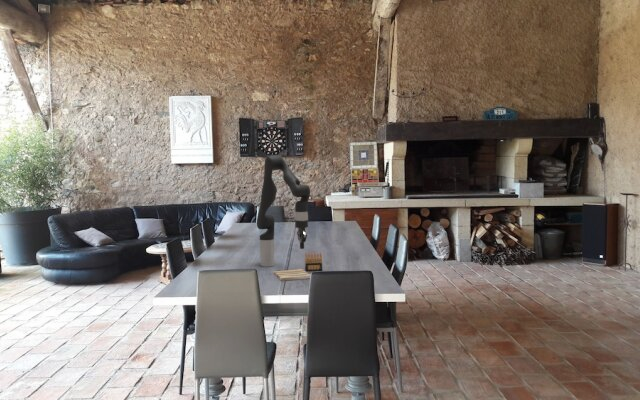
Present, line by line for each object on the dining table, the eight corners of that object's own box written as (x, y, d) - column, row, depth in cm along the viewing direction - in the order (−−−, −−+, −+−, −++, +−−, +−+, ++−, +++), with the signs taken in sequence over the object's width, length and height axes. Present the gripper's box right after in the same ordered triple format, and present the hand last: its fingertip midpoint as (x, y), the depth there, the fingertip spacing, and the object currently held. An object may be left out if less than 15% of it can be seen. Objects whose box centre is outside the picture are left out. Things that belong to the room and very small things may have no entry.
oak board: (273, 273, 306) (273, 271, 306) (302, 271, 312) (302, 269, 311) (277, 277, 297) (277, 274, 297) (306, 274, 303) (306, 272, 303)
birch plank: (277, 277, 297) (277, 274, 297) (306, 274, 302) (306, 272, 302) (281, 280, 287) (281, 278, 287) (311, 278, 293) (311, 275, 293)
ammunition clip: (305, 271, 311) (304, 252, 310) (305, 271, 313) (304, 251, 312) (322, 271, 312) (322, 251, 311) (322, 270, 313) (322, 251, 312)
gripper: (292, 218, 298) (292, 247, 300) (298, 220, 286) (299, 251, 287) (304, 217, 301) (304, 246, 302) (311, 220, 288) (311, 250, 290)
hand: (302, 248), depth 295 cm, fingers closed
